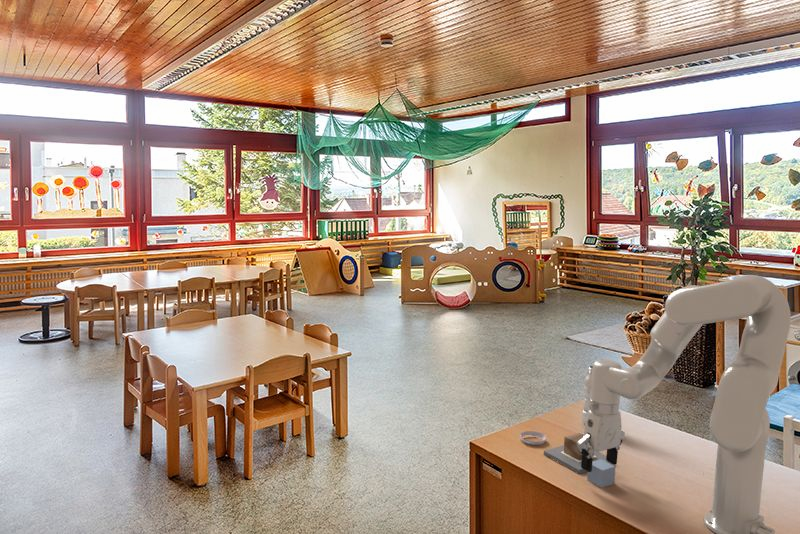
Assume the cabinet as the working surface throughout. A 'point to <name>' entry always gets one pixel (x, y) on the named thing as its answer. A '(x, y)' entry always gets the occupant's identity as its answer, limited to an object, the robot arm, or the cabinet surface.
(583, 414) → the plastic bottle
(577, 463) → the building board
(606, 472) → the slate blue cube
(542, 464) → the cabinet surface
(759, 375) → the robot arm
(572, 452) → the walnut block
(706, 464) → the cabinet surface
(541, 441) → the lavender ring
